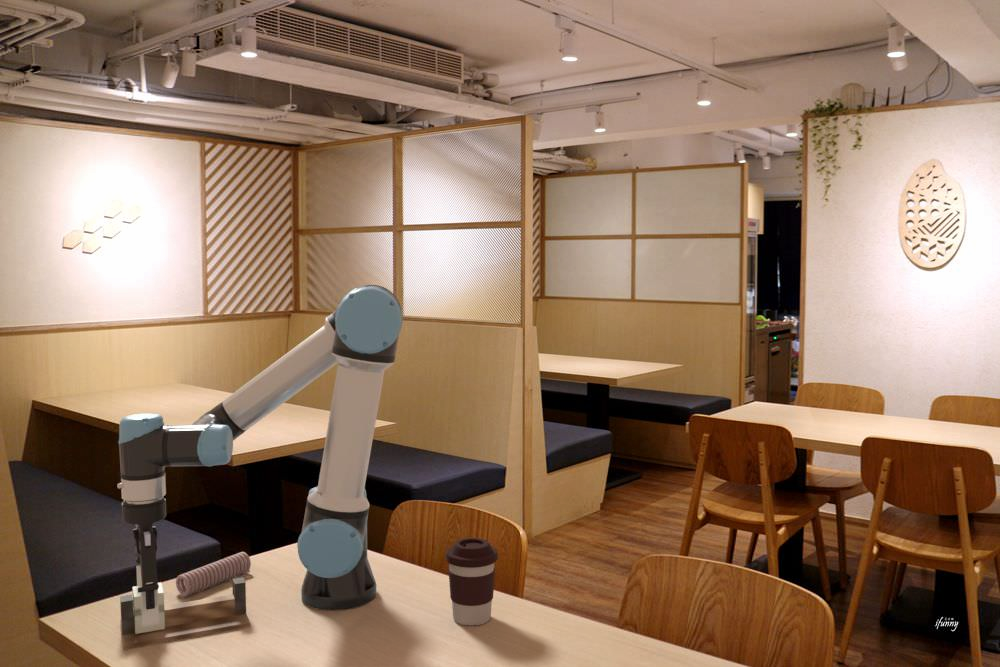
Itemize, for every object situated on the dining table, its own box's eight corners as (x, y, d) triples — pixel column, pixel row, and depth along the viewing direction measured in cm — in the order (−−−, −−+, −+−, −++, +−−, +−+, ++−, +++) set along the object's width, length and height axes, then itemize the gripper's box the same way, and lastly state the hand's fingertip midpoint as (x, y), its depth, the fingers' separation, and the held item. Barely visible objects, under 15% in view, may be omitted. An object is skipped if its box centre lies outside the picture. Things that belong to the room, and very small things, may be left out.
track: (239, 603, 173) (239, 569, 173) (250, 626, 163) (249, 590, 162) (120, 623, 164) (119, 588, 163) (123, 649, 153) (122, 611, 152)
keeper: (162, 617, 164) (161, 582, 163) (164, 628, 159) (163, 592, 158) (133, 622, 162) (132, 586, 161) (135, 634, 157) (134, 597, 156)
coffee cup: (508, 618, 166) (508, 542, 165) (471, 634, 159) (471, 555, 158) (471, 604, 173) (471, 531, 172) (435, 619, 166) (435, 543, 165)
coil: (187, 579, 175) (254, 554, 190) (172, 573, 177) (240, 548, 193) (186, 601, 176) (253, 574, 191) (171, 594, 178) (239, 568, 193)
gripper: (118, 485, 168) (122, 591, 169) (124, 519, 145) (129, 641, 147) (159, 480, 171) (163, 584, 173) (172, 513, 149) (176, 632, 150)
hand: (147, 611), depth 160 cm, fingers open, 13 cm apart
